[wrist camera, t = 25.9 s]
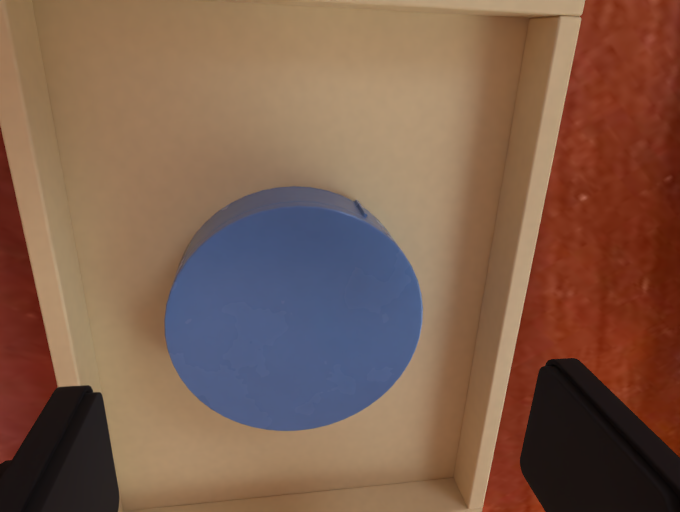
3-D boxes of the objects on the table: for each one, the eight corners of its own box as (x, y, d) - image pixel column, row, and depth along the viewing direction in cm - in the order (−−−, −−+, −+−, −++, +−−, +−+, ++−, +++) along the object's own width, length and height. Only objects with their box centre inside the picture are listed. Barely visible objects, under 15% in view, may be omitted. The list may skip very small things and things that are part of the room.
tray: (459, 474, 20) (480, 520, 18) (112, 509, 18) (95, 565, 16) (541, -5, 14) (589, -13, 12) (8, -38, 11) (-41, -53, 10)
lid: (247, 136, 13) (246, 150, 11) (449, 252, 15) (474, 278, 14) (134, 341, 15) (118, 380, 13) (330, 418, 17) (339, 460, 16)
